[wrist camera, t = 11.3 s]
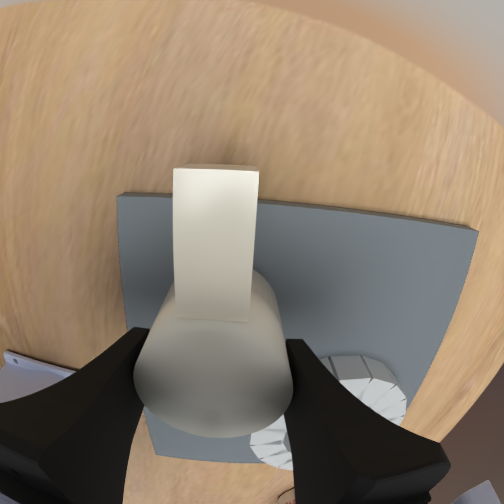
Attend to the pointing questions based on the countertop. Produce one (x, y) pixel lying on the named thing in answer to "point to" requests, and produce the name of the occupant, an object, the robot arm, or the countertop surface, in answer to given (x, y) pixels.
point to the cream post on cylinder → (215, 315)
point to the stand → (316, 301)
